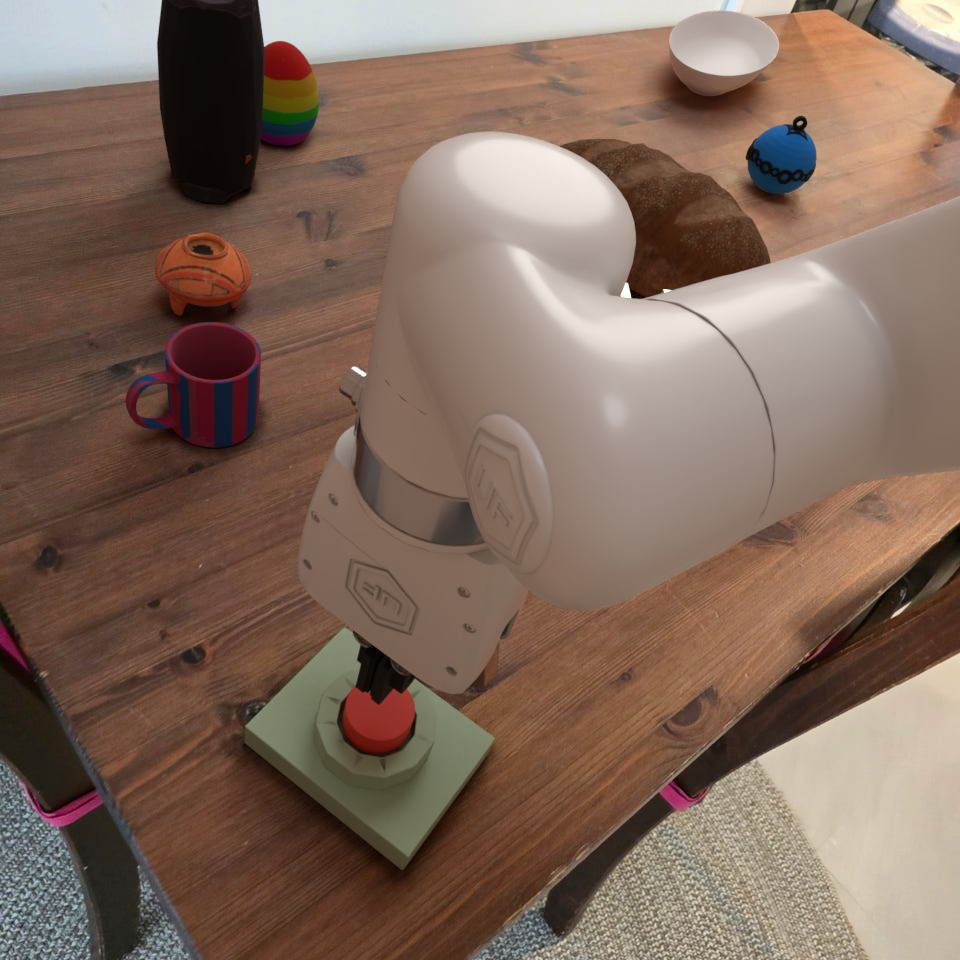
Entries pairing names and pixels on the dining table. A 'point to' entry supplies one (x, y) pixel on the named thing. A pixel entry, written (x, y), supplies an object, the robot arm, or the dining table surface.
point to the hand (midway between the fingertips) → (384, 677)
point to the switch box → (368, 754)
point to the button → (378, 720)
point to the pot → (202, 272)
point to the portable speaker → (211, 94)
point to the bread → (675, 218)
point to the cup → (206, 385)
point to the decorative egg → (288, 95)
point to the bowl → (721, 51)
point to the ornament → (782, 158)
